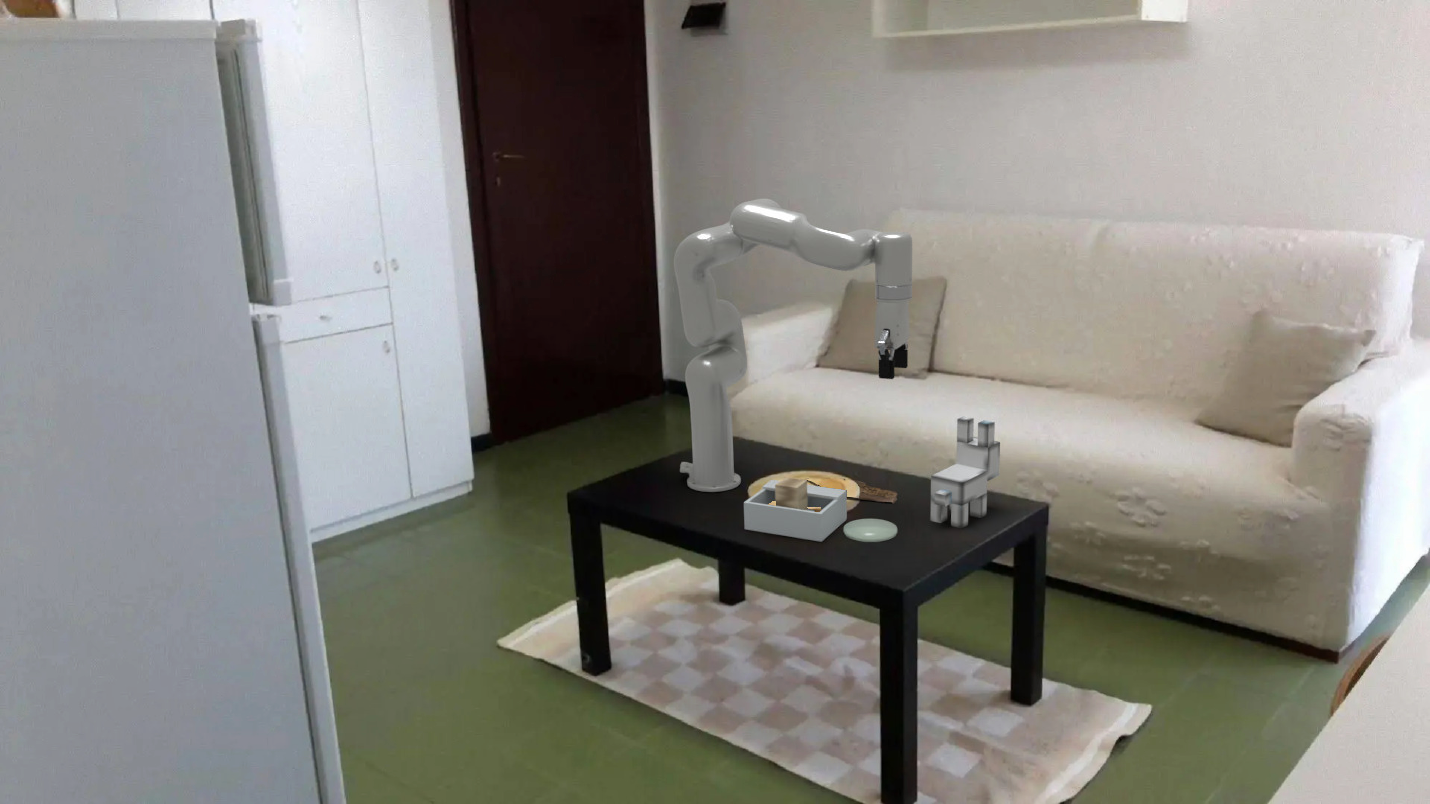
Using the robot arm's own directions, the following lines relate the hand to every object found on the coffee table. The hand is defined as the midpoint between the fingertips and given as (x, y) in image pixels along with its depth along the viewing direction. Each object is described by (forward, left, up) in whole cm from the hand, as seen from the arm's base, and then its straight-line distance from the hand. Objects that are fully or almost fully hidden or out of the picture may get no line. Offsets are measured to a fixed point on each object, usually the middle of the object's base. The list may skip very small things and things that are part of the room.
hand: (893, 372), depth 241 cm
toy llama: (+14, +3, -31) cm, 34 cm away
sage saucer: (0, -13, -31) cm, 34 cm away
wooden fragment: (-14, +9, -31) cm, 35 cm away
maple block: (-16, -17, -28) cm, 37 cm away
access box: (-16, -15, -31) cm, 38 cm away
